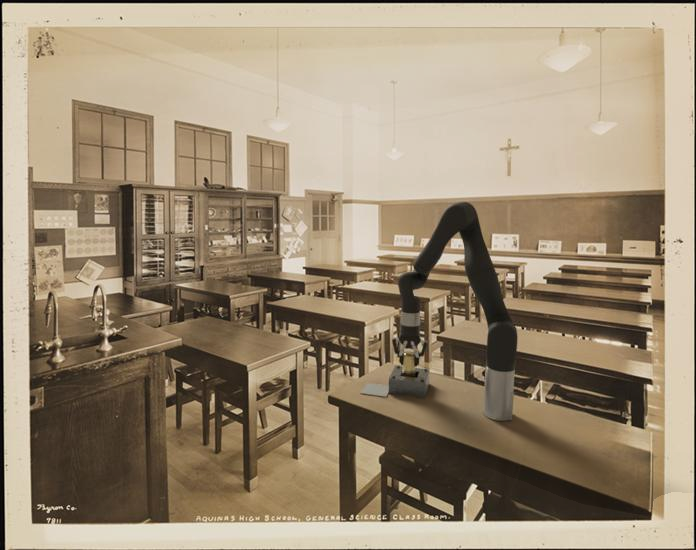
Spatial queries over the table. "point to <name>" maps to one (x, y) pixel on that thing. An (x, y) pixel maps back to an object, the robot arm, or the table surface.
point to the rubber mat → (375, 390)
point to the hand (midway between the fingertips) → (409, 364)
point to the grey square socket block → (409, 382)
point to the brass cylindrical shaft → (409, 364)
